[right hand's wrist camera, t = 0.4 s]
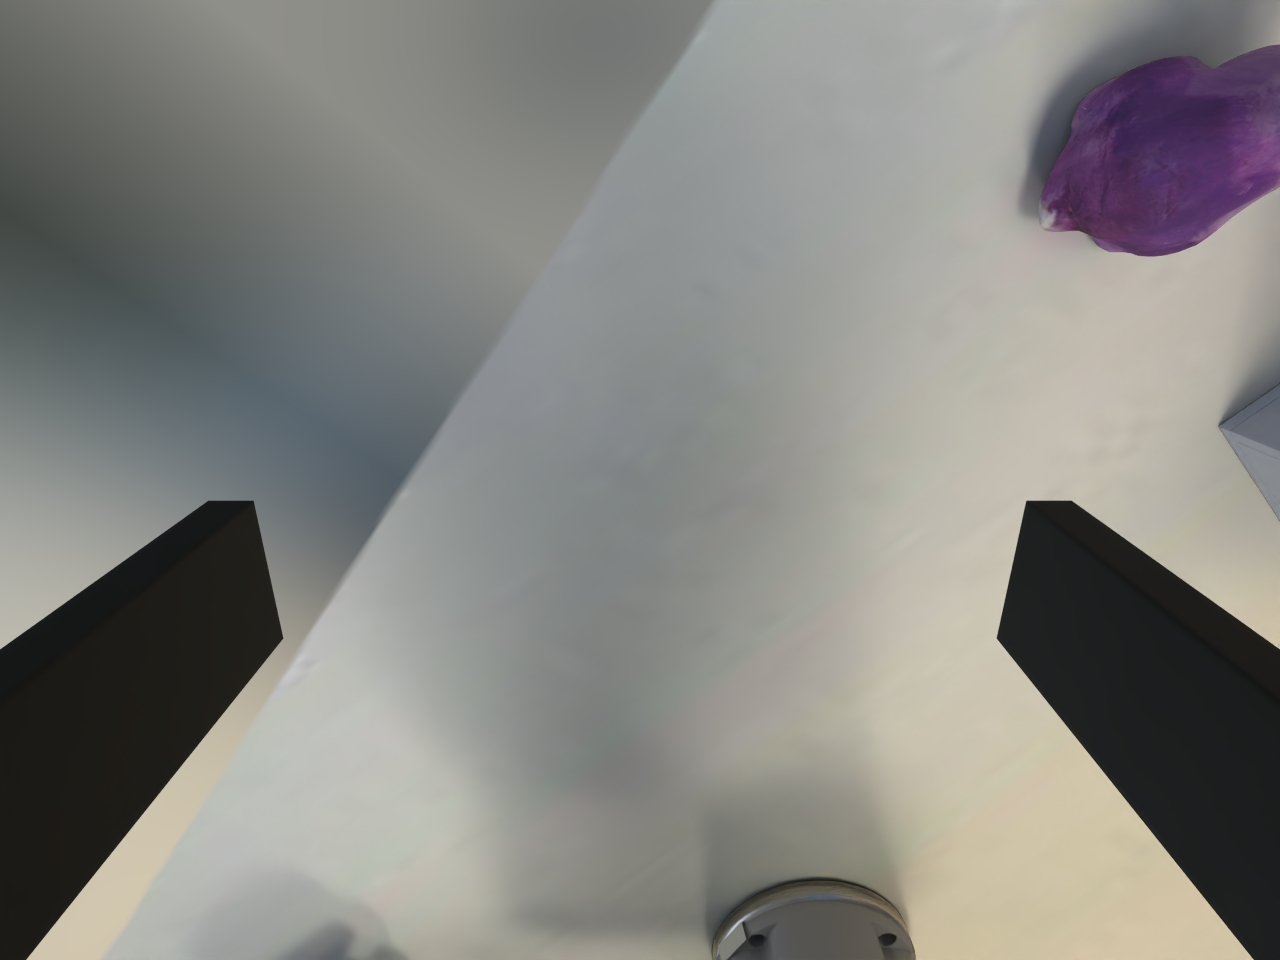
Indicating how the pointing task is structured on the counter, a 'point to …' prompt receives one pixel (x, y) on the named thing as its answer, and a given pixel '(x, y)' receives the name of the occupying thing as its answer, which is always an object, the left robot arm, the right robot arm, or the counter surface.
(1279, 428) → the cabinet
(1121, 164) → the figurine
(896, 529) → the counter surface
